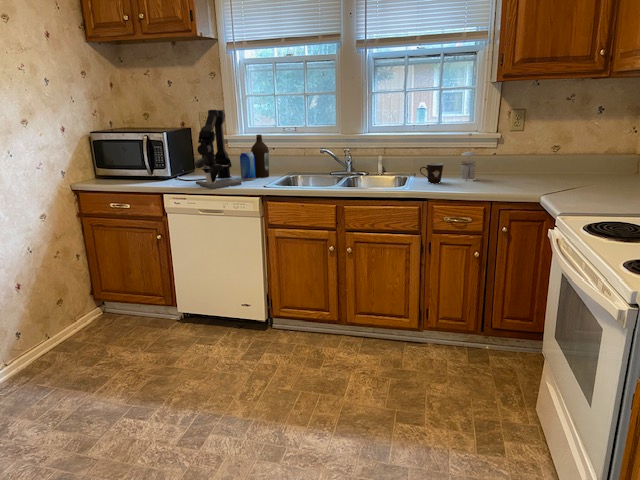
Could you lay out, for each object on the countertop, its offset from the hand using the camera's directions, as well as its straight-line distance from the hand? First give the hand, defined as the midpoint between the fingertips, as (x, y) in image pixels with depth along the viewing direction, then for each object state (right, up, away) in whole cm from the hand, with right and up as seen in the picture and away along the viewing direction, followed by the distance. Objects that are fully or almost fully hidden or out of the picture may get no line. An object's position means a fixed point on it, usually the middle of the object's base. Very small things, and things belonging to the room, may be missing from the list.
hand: (211, 181), depth 265 cm
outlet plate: (+5, -2, +1) cm, 6 cm away
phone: (-7, 0, +7) cm, 10 cm away
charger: (0, -1, 0) cm, 1 cm away
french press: (+141, +1, -1) cm, 141 cm away
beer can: (+18, +3, +17) cm, 25 cm away
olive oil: (+25, +6, +26) cm, 36 cm away
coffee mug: (+120, -1, -7) cm, 120 cm away
